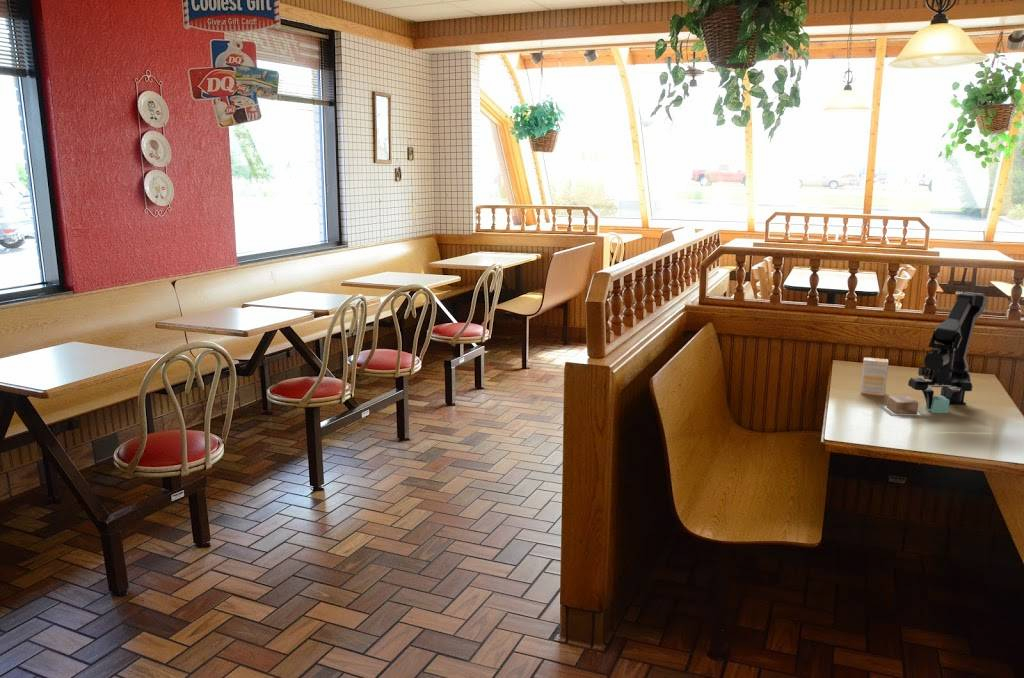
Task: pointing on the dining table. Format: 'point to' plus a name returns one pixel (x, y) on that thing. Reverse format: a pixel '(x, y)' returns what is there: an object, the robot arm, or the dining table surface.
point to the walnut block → (902, 405)
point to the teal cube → (939, 404)
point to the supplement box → (874, 376)
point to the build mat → (891, 413)
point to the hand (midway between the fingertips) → (936, 408)
